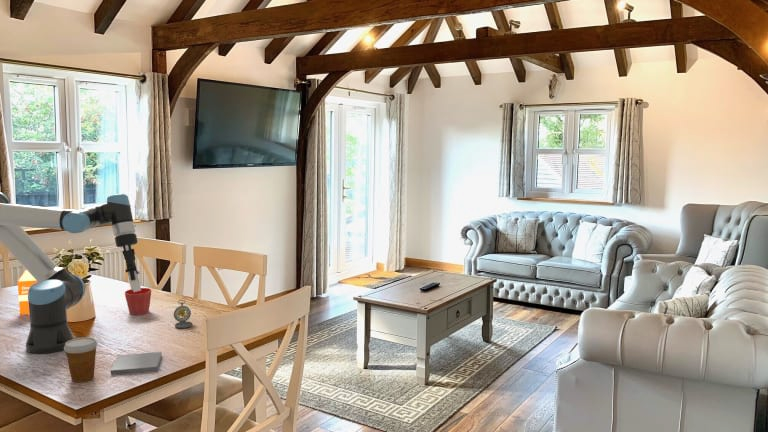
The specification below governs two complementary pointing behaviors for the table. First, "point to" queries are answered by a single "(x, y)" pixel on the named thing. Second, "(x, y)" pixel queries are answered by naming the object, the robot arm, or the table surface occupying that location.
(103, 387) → the table surface
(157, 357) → the slate tile
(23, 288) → the orange juice
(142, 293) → the flower pot
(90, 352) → the disposable coffee cup
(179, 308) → the pocket watch
